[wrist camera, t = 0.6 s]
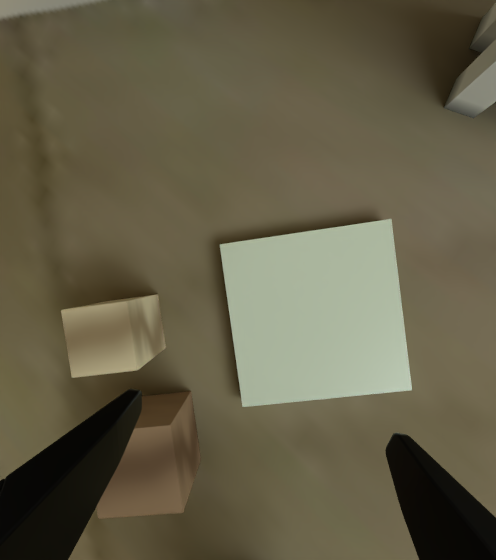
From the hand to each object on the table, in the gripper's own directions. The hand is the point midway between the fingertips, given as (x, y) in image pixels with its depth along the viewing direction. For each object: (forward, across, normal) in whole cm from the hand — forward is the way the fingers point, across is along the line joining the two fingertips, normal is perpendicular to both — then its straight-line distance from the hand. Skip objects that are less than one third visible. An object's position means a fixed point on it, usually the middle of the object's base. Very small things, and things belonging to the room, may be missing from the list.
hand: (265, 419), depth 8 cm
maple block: (+12, +11, +6) cm, 17 cm away
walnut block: (+9, +7, +14) cm, 19 cm away
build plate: (+13, -4, +2) cm, 14 cm away
